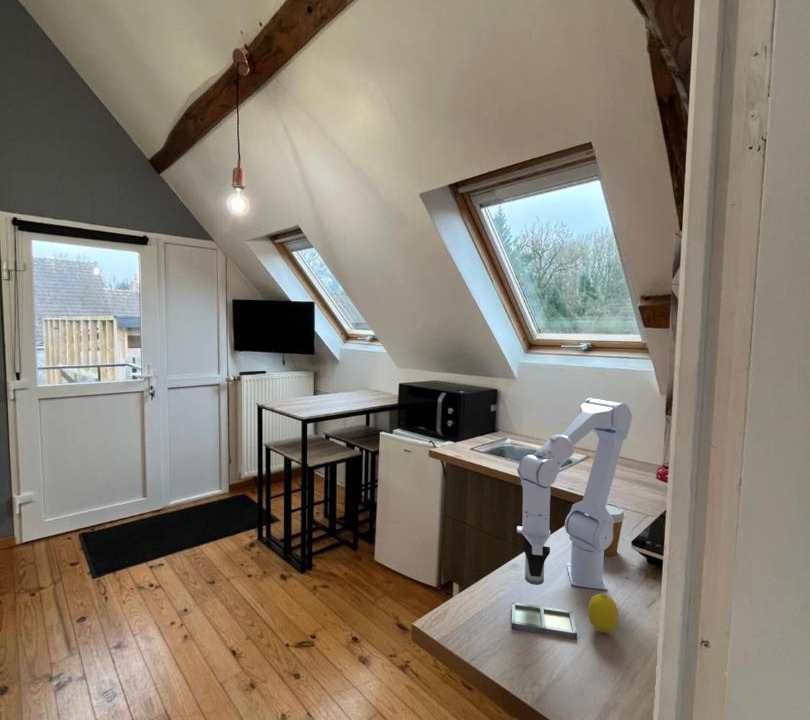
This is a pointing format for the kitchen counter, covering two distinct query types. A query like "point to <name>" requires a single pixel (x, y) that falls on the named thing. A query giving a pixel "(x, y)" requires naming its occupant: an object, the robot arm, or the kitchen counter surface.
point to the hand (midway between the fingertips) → (534, 569)
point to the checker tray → (543, 620)
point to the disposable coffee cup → (614, 527)
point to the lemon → (603, 613)
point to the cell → (533, 579)
